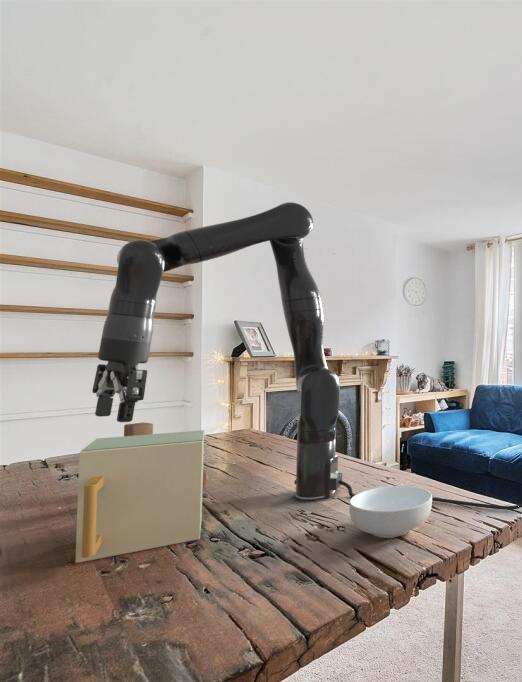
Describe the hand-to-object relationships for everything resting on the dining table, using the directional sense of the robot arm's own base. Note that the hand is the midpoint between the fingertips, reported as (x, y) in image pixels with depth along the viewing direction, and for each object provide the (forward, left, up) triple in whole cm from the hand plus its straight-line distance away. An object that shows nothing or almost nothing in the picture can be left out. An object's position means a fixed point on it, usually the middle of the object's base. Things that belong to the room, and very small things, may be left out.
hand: (113, 418), depth 85 cm
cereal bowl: (-55, -1, -24) cm, 60 cm away
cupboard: (-7, -1, -24) cm, 25 cm away
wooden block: (+14, -29, -24) cm, 41 cm away
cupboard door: (-11, +8, -24) cm, 27 cm away
